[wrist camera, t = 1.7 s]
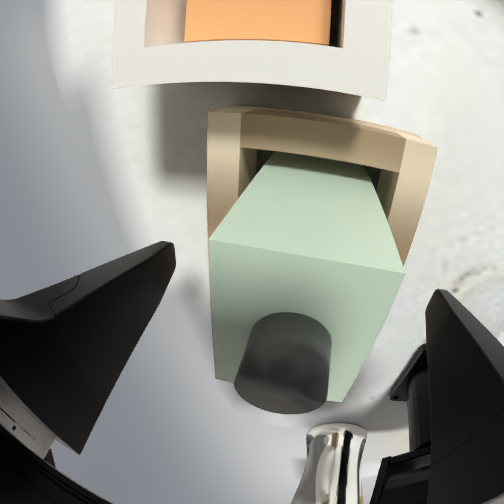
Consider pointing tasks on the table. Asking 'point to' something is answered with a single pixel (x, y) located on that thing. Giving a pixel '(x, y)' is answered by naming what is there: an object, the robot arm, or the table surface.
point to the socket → (252, 51)
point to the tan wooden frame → (319, 145)
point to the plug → (300, 282)
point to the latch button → (259, 20)
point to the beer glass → (332, 465)
